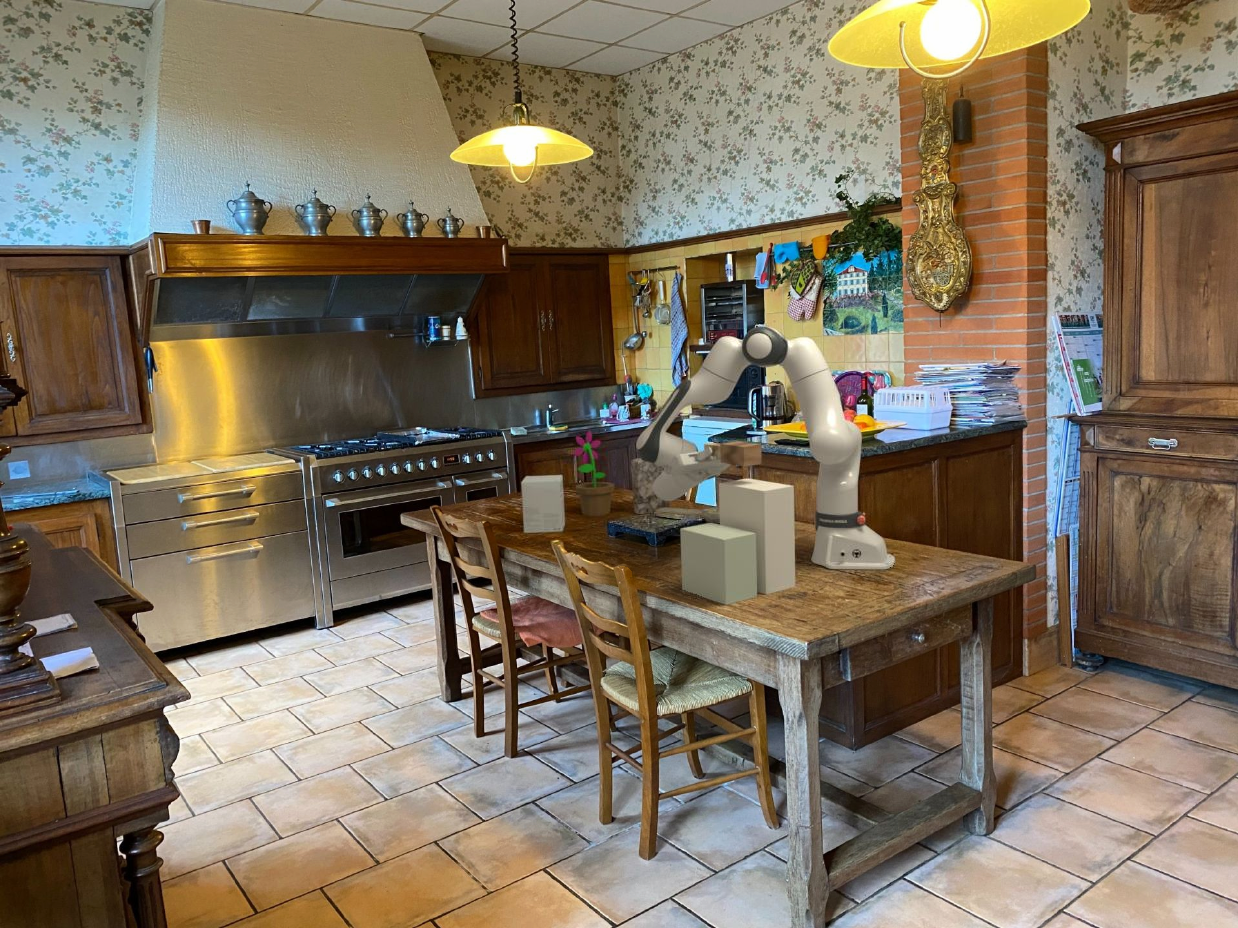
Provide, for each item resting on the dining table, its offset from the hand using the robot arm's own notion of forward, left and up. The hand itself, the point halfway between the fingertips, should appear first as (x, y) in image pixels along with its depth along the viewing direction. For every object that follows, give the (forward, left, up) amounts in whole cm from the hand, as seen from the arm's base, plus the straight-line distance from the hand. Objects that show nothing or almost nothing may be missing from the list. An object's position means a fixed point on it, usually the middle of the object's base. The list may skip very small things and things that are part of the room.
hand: (718, 448), depth 243 cm
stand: (-8, +13, -34) cm, 37 cm away
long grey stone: (+26, -66, -35) cm, 79 cm away
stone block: (+47, -75, -34) cm, 95 cm away
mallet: (-4, +2, -3) cm, 5 cm away
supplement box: (+74, -41, -34) cm, 92 cm away
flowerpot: (+67, -70, -34) cm, 102 cm away
